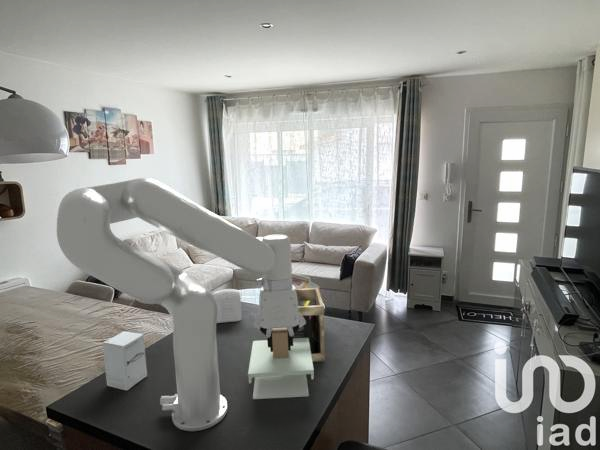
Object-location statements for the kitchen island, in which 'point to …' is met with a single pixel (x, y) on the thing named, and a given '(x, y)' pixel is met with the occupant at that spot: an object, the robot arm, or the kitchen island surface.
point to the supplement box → (124, 360)
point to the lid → (280, 357)
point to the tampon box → (307, 326)
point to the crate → (319, 312)
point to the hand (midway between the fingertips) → (280, 348)
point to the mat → (280, 386)
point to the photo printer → (228, 305)
